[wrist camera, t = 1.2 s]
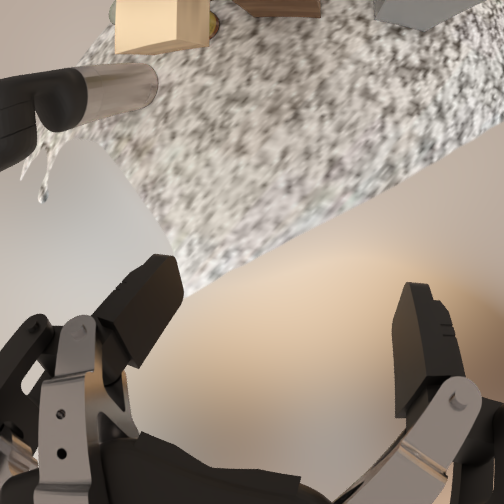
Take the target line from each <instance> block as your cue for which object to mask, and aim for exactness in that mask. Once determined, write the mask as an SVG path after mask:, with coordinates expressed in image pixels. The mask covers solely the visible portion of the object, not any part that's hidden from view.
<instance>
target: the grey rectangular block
mask: <svg viewBox="0 0 504 504" xmlns="http://www.w3.org/2000/svg"><path fill="white" fill-rule="evenodd" d="M484 1H486V0H374V20H379V21H384V22H388V23H393V24H397V25H401V26H405V27H409V28H413V29H417V30H420V31H424V32H425V31H427V30H429V29H430V28H432V27H434V26H436V25H438V24H439V23H441V22H443V21H445V20H447V19H449V18H451V17H453V16H455V15H457V14H459V13H461V12H463V11H465V10H467V9H469V8H471V7H473V6H475V5H477V4H480V3H482V2H484Z"/></svg>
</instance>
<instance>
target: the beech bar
mask: <svg viewBox="0 0 504 504" xmlns="http://www.w3.org/2000/svg"><path fill="white" fill-rule="evenodd" d="M209 11H210V0H116V16H115V54H140V55H157V54H162V53H168V52H173V51H179V50H186V49H193V48H201V47H209Z"/></svg>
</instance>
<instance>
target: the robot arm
mask: <svg viewBox="0 0 504 504" xmlns="http://www.w3.org/2000/svg"><path fill="white" fill-rule="evenodd" d="M157 88H158V80H157V76H156V73H155V71H154V70H153V69H152V68H151V67H150V66H149V65H147V64H144V63H117V64H100V65H89V66H80V67H72V68H64V69H59V70H52V71H46V72H39V73H32V74H26V75H19V76H13V77H8V78H4V79H0V172H1V171H3V170H5V169H7V168H9V167H11V166H13V165H15V164H17V163H19V162H20V161H22V160H23V159H25V158H26V157H28V156H29V155H30V154H31V153H32V152H33V151H34V150H35V148H36V145H37V128H36V124H35V123H36V119H35V111H36V113H37V115H38V117H39V119H40V121H41V122H42V124H43V125H44V126H45V127H46V128H47V129H48V130H50V131H52V132H63V131H66V130H69V129H72V128H74V127H77V126H80V125H83V124H86V123H89V122H93V121H96V120H99V119H103V118H106V117H110V116H114V115H117V114H121V113H125V112H129V111H133V110H138V109H141V108H144V107H146V106H147V105H149V104H150V103H151V102H152V100H153V99H154V97H155V95H156V92H157ZM183 296H184V290H183V285H182V281H181V277H180V273H179V269H178V265H177V261H176V259H175V257H174V256H169V255H160V254H153V255H152V256H151V257H150V258H149V259H148V260H147V261H146V262H145V263H144V264H143V265H141V266H140V267H138V268H137V269H135V270H133V271H132V272H130V273H129V274H128V275H127V276H126V277H125V279H124V280H123V281H122V283H120V284H119V285H118V286H117V287H116V290H113V292H112V293H111V294H110V295H109V296H108V297H107V298H106V299H105V300H104V301H103V303H102V304H101V305H100V306H99V307H98V308H97V310H96V311H95V312H94V313H93V314H92V315H91V316H88V315H79V316H77V317H74V318H72V319H70V320H69V321H68V322H67V323H66V324H65V325H64V326H52V325H51V324H50V322H49V320H48V319H47V317H46V316H45V315H43V314H36V315H33V316H31V317H29V318H28V319H27V320H26V321H25V322H24V323H23V324H22V325H21V326H20V327H19V329H18V330H17V331H16V332H15V333H14V335H13V336H12V337H11V338H10V340H9V341H8V342H7V343H6V345H5V346H4V347H3V349H2V350H1V351H0V504H432V503H433V502H434V500H435V499H436V497H437V496H438V495H439V493H440V492H441V491H442V489H443V488H444V486H445V484H446V482H447V479H448V476H447V475H446V471H447V469H448V467H449V466H450V464H451V462H454V467H453V482H452V491H451V499H450V504H504V403H501V402H498V401H494V400H490V399H487V398H484V397H481V393H480V391H479V389H478V387H477V386H476V384H475V383H474V382H472V381H471V380H470V379H468V378H466V376H465V372H464V367H463V363H462V359H461V354H460V350H459V346H458V342H457V339H456V337H455V331H454V328H453V327H452V325H453V324H452V321H451V318H450V315H449V312H448V310H447V309H446V308H445V306H444V305H443V304H442V303H441V301H437V300H433V297H432V294H431V291H430V287H429V285H428V284H423V283H412V282H406V284H405V285H404V288H403V291H402V294H401V297H400V301H399V303H398V306H397V310H396V312H395V315H394V318H393V323H392V343H393V357H394V373H395V418H406V428H405V429H404V430H403V431H402V432H401V434H400V435H399V436H398V437H397V439H396V440H395V441H394V442H393V443H392V444H391V446H390V447H389V448H388V449H387V450H386V451H385V452H384V454H383V455H382V456H381V457H380V458H379V459H378V460H377V461H376V463H374V464H373V466H372V467H371V468H370V469H369V470H368V471H367V472H366V473H365V474H364V475H362V476H361V477H360V478H359V479H358V480H357V481H356V482H354V483H353V484H352V485H351V486H350V487H349V488H348V489H347V490H346V491H345V492H343V493H342V494H341V495H340V496H339V497H338V498H337V499H335V500H334V501H333V502H331V501H329V500H328V499H327V498H326V497H325V496H324V495H322V494H321V493H319V492H318V491H316V490H314V489H312V488H310V487H308V486H306V485H303V484H301V483H300V480H301V477H300V476H293V475H287V474H281V473H275V472H270V471H265V470H260V469H224V468H212V467H209V466H207V465H205V464H204V463H202V462H201V461H199V460H197V459H196V458H194V457H193V456H191V455H189V454H188V453H186V452H185V451H183V450H182V449H180V448H179V447H177V446H176V445H174V444H171V443H169V442H166V441H164V440H161V439H159V438H156V437H154V436H151V435H149V434H147V433H144V432H142V431H141V433H140V435H139V432H138V429H137V427H136V426H135V424H134V421H133V419H132V416H131V409H130V402H129V395H128V387H127V378H126V373H125V371H124V369H125V367H126V366H127V365H130V366H132V367H135V368H138V369H139V368H140V366H141V365H142V363H143V362H144V360H145V359H146V357H147V356H148V354H149V352H150V351H151V349H152V348H153V346H154V345H155V343H156V342H157V340H158V339H159V337H160V335H161V334H162V332H163V331H164V329H165V328H166V326H167V325H168V323H169V322H170V320H171V319H172V317H173V315H174V314H175V313H176V311H177V310H178V308H179V307H180V305H181V303H182V301H183ZM36 360H37V361H38V362H39V363H40V364H41V366H42V367H43V368H44V369H45V371H44V372H43V374H42V375H41V377H40V378H39V380H38V381H37V383H36V384H35V386H34V387H33V389H32V390H31V392H30V393H29V394H28V395H25V394H24V393H23V391H22V389H21V382H22V380H23V378H24V377H25V375H26V374H27V372H28V371H29V370H30V368H31V367H32V365H33V364H34V363H35V361H36ZM37 447H38V452H39V468H38V461H37V460H36V459H35V458H34V457H33V455H34V453H35V451H36V449H37ZM494 458H495V473H494ZM29 470H30V471H29ZM493 477H494V490H493Z"/></svg>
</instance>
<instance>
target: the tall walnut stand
mask: <svg viewBox="0 0 504 504" xmlns="http://www.w3.org/2000/svg"><path fill="white" fill-rule="evenodd" d="M232 1H234V2H235V3H236V4H238V5H239V6H240V7H242V8H243V9H244V10H246V11H247V12H248V13H249V14H251V15H252V16H253V17H311V18H321V6H320V0H232Z"/></svg>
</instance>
